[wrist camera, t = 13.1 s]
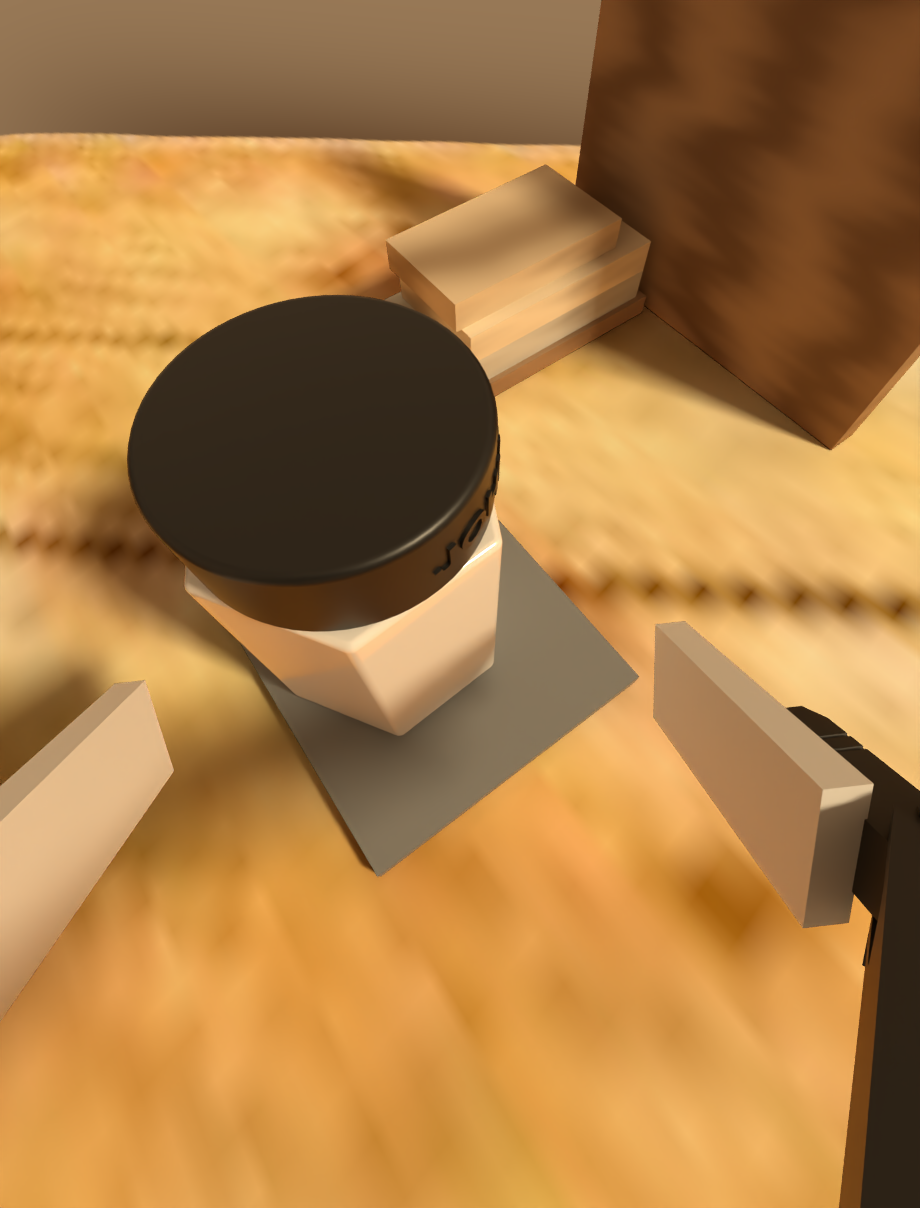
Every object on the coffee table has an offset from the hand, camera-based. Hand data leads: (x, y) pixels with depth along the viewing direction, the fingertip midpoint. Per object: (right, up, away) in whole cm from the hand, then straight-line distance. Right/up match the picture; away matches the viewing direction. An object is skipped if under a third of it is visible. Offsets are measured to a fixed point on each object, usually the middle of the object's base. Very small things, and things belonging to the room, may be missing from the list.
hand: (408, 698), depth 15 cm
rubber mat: (-1, +1, +9) cm, 9 cm away
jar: (-2, +1, +9) cm, 9 cm away
